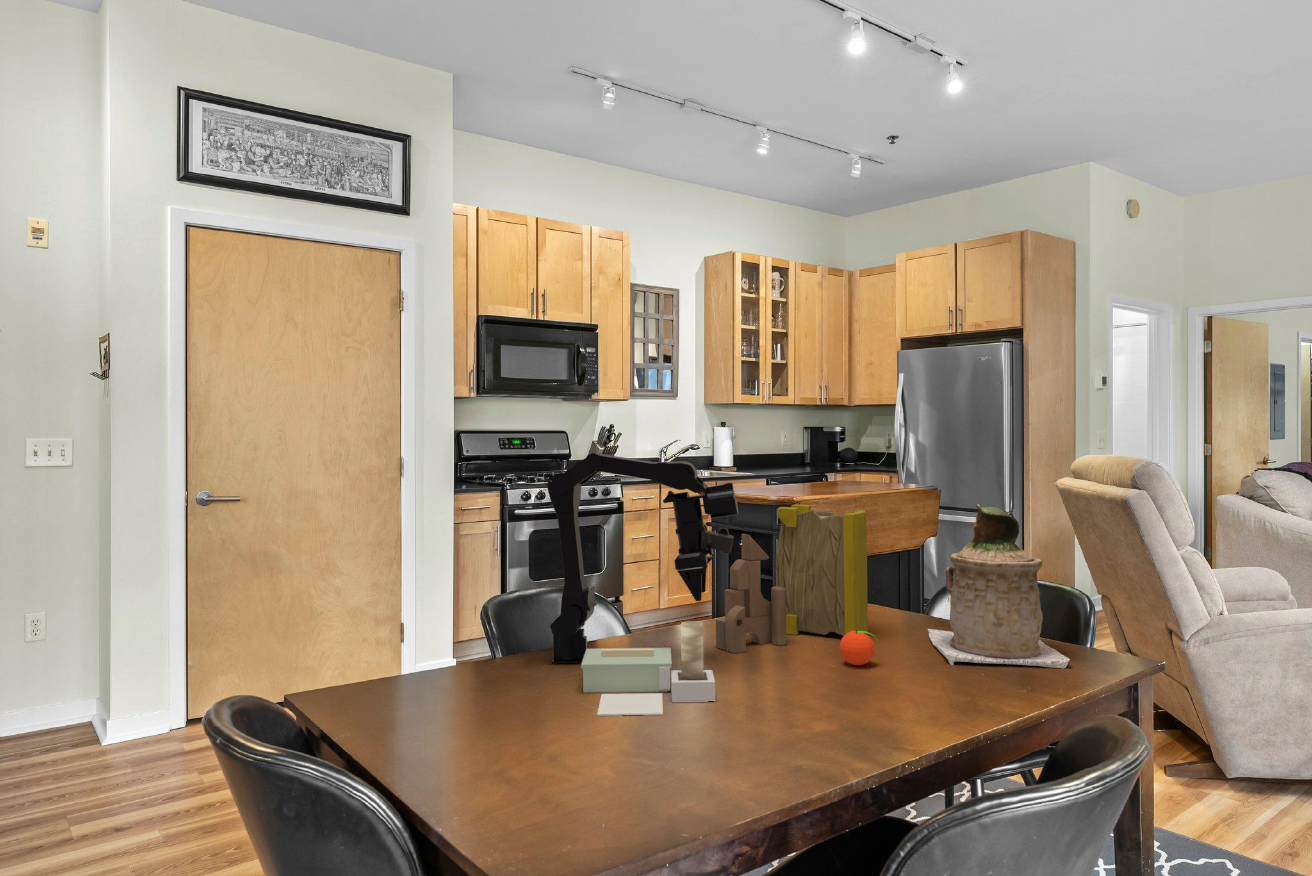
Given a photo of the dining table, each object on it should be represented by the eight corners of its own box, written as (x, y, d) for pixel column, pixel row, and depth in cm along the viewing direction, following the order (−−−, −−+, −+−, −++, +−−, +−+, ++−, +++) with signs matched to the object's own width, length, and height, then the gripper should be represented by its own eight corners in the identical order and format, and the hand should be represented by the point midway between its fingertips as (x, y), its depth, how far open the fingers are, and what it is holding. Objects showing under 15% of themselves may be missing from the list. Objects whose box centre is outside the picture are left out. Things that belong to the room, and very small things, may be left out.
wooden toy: (733, 654, 176) (732, 538, 176) (715, 648, 182) (714, 535, 182) (789, 644, 184) (787, 533, 184) (770, 638, 190) (769, 531, 190)
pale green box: (578, 703, 144) (578, 667, 144) (586, 675, 162) (586, 642, 162) (715, 702, 144) (714, 665, 144) (708, 673, 162) (708, 641, 162)
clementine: (877, 660, 170) (876, 626, 170) (882, 670, 163) (882, 634, 163) (837, 660, 171) (837, 626, 171) (842, 669, 164) (841, 633, 164)
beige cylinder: (682, 699, 146) (681, 626, 146) (681, 692, 150) (680, 621, 150) (704, 699, 146) (703, 626, 146) (703, 692, 150) (702, 621, 150)
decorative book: (871, 632, 194) (869, 506, 194) (856, 642, 185) (854, 510, 185) (791, 623, 205) (790, 504, 205) (774, 633, 195) (772, 507, 196)
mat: (597, 716, 137) (597, 714, 137) (601, 695, 148) (601, 694, 148) (662, 715, 137) (662, 713, 137) (662, 695, 148) (662, 693, 148)
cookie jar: (1074, 670, 162) (1072, 508, 162) (945, 666, 166) (943, 508, 166) (1036, 640, 186) (1035, 499, 186) (924, 637, 190) (923, 499, 190)
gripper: (725, 520, 159) (737, 600, 158) (730, 512, 177) (741, 583, 177) (669, 528, 160) (680, 607, 160) (680, 519, 179) (690, 590, 178)
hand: (700, 596), depth 169 cm, fingers open, 9 cm apart
